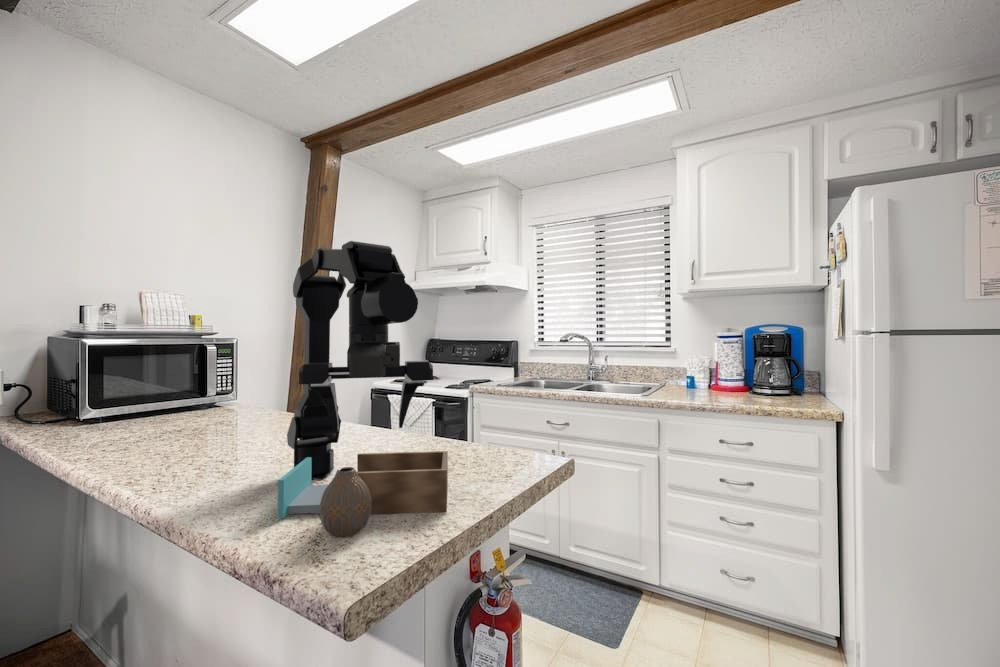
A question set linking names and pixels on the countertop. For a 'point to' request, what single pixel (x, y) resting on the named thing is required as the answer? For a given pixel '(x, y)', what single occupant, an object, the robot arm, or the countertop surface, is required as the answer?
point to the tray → (299, 491)
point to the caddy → (405, 481)
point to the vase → (345, 504)
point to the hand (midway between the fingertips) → (369, 429)
